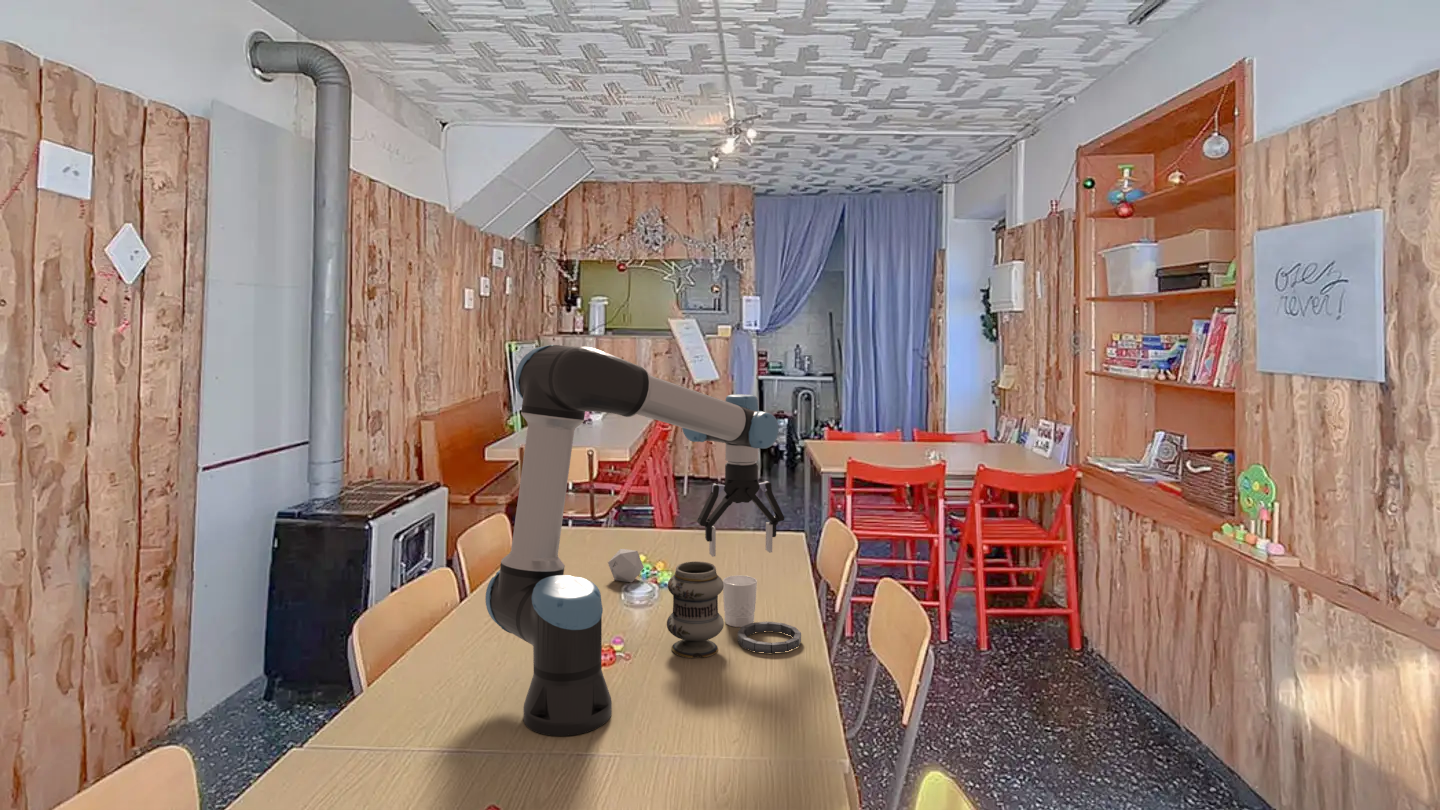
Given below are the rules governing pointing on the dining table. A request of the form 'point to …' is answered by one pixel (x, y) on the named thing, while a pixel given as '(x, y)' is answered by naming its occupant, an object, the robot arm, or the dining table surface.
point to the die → (625, 565)
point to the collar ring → (767, 646)
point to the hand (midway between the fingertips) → (740, 553)
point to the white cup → (739, 600)
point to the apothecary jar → (695, 609)
